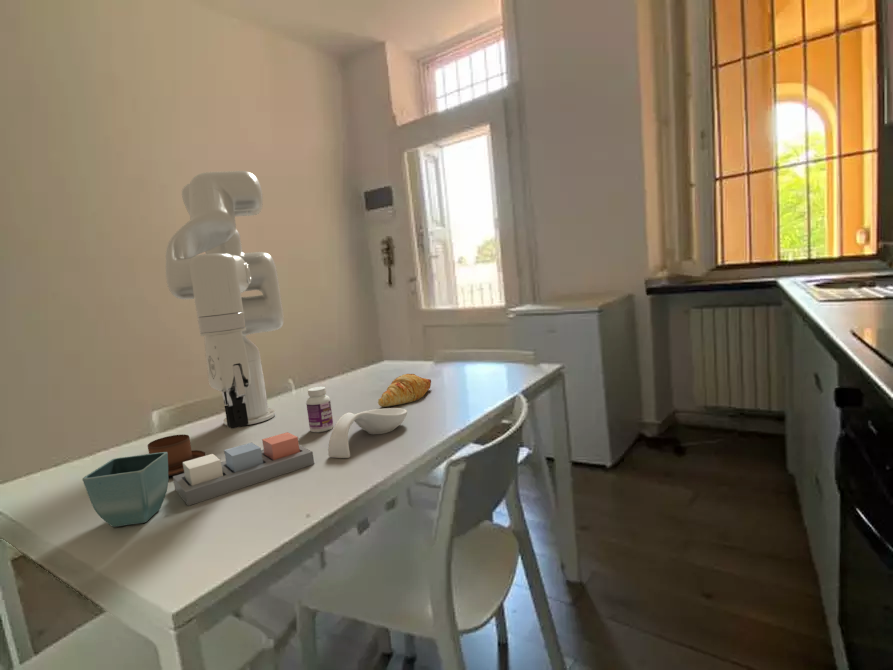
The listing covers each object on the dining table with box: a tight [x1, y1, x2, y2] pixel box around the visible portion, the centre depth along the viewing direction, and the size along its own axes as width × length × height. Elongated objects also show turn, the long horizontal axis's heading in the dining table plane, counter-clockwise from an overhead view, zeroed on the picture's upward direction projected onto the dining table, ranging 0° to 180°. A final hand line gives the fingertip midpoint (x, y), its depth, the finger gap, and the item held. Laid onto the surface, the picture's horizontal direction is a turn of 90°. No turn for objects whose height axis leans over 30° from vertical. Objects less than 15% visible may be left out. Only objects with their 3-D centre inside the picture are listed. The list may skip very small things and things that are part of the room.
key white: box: [183, 453, 223, 486], centre depth 91 cm, size 5×5×3 cm
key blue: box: [223, 442, 263, 472], centre depth 95 cm, size 5×5×3 cm
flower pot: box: [81, 452, 169, 528], centre depth 82 cm, size 9×9×9 cm
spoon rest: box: [327, 407, 408, 459], centre depth 111 cm, size 24×12×7 cm, turn 160°
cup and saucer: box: [147, 434, 207, 477], centre depth 103 cm, size 12×12×6 cm
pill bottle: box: [305, 386, 334, 433], centre depth 120 cm, size 5×5×10 cm
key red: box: [261, 432, 300, 460], centre depth 100 cm, size 5×5×3 cm
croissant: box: [377, 373, 432, 407], centre depth 141 cm, size 21×10×8 cm, turn 146°
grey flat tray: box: [172, 444, 315, 507], centre depth 96 cm, size 10×22×2 cm, turn 129°
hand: (238, 425), depth 94 cm, fingers closed
